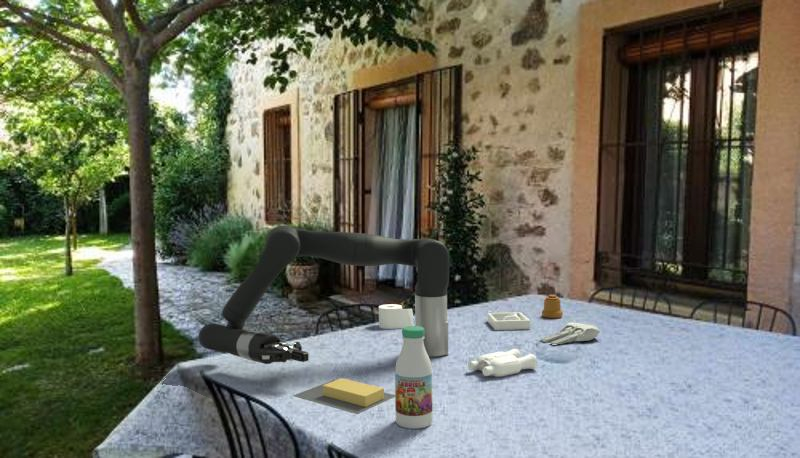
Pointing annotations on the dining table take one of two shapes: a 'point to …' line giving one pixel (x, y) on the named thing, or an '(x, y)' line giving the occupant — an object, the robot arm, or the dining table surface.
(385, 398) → the mat
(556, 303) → the ornamental finial
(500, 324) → the holder
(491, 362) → the binoculars
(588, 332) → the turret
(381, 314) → the toilet paper
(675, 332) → the dining table surface
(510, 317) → the whipped cream
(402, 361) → the milk bottle
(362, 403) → the box
